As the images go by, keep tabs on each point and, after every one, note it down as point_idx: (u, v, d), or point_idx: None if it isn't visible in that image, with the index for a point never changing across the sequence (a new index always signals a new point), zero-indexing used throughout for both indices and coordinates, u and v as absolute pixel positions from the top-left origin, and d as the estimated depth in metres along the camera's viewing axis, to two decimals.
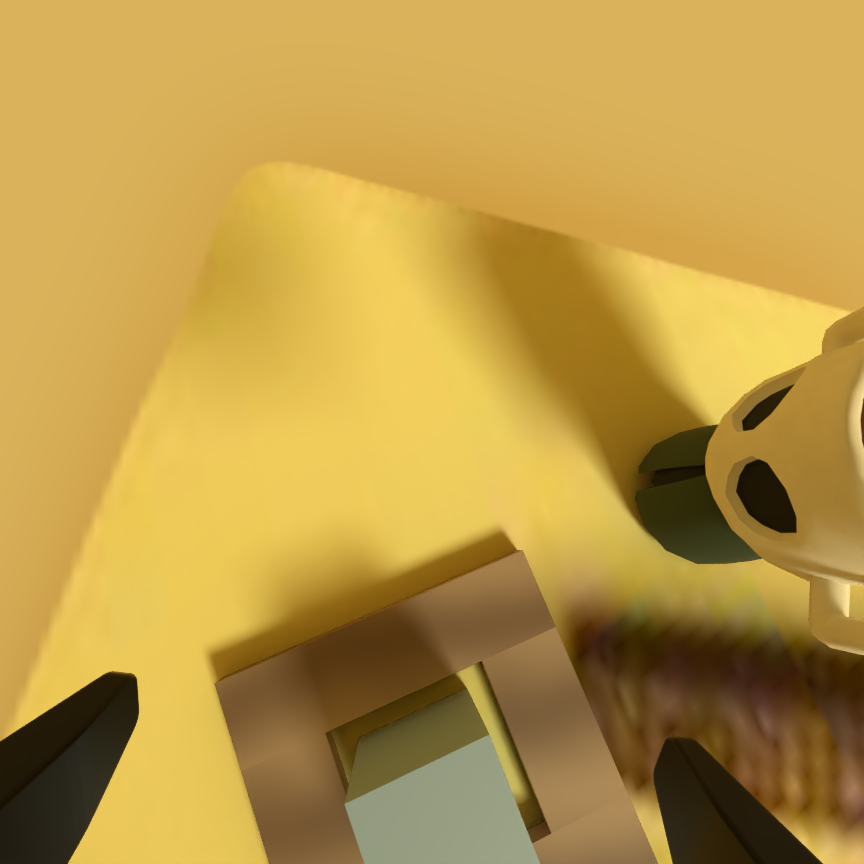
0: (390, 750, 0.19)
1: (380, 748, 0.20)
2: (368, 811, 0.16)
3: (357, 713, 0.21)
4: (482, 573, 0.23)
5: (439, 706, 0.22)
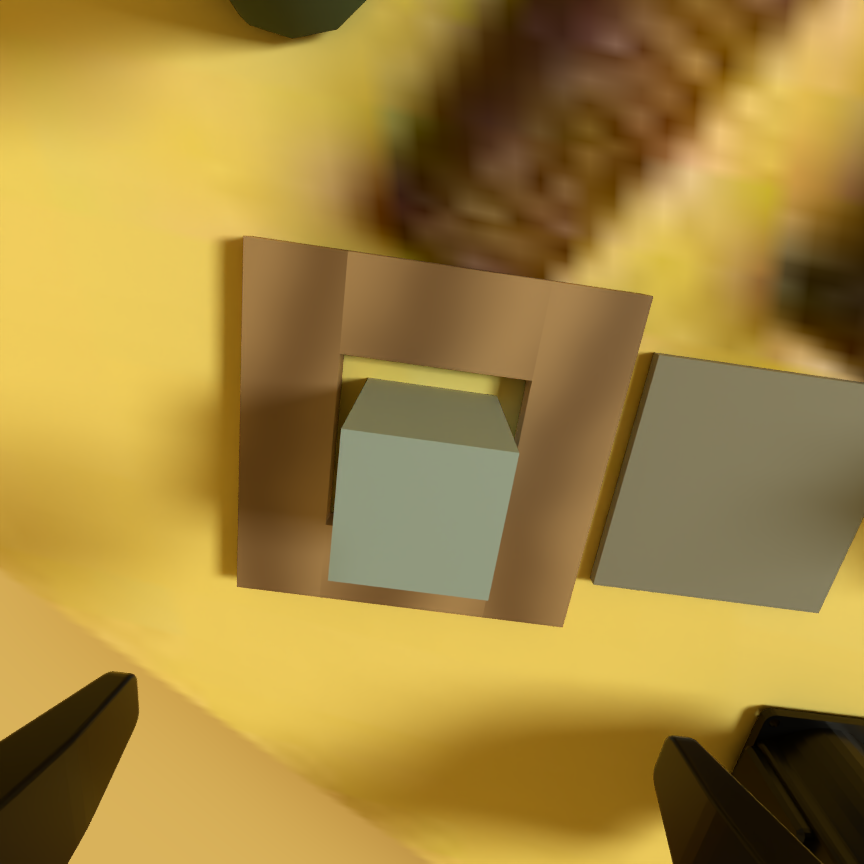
0: None
1: None
2: (345, 565, 0.16)
3: (324, 492, 0.20)
4: (248, 300, 0.18)
5: None
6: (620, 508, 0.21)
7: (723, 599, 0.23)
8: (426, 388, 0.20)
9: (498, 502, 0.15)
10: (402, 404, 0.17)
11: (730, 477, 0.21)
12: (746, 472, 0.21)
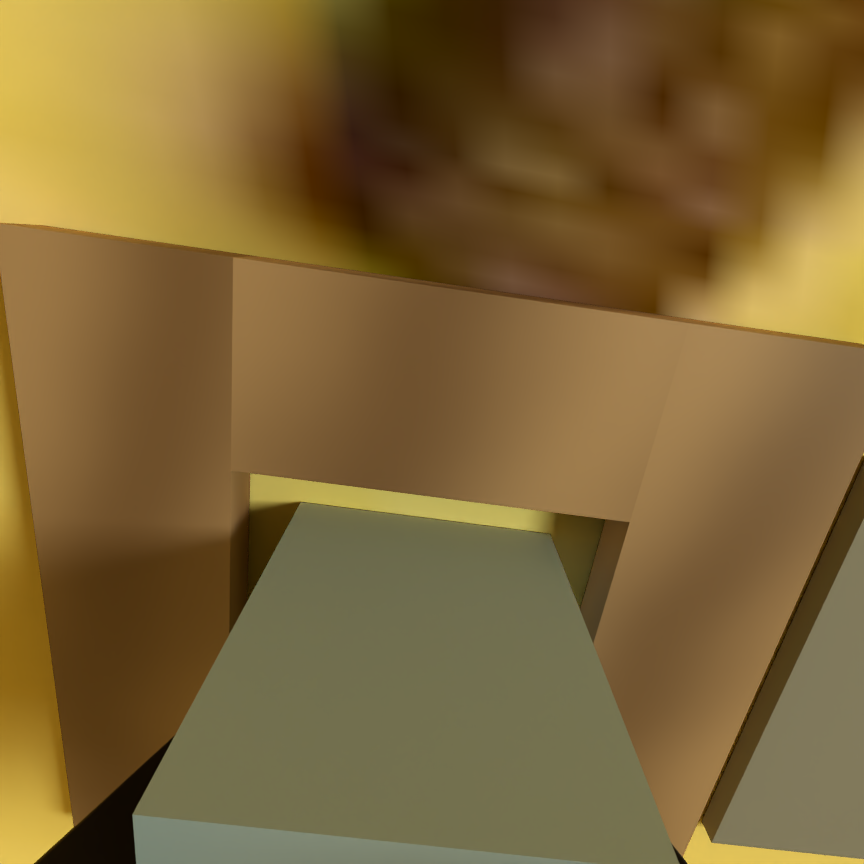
0: None
1: None
2: None
3: None
4: (25, 362, 0.08)
5: None
6: (774, 729, 0.11)
7: None
8: (413, 527, 0.10)
9: None
10: (354, 604, 0.08)
11: None
12: None
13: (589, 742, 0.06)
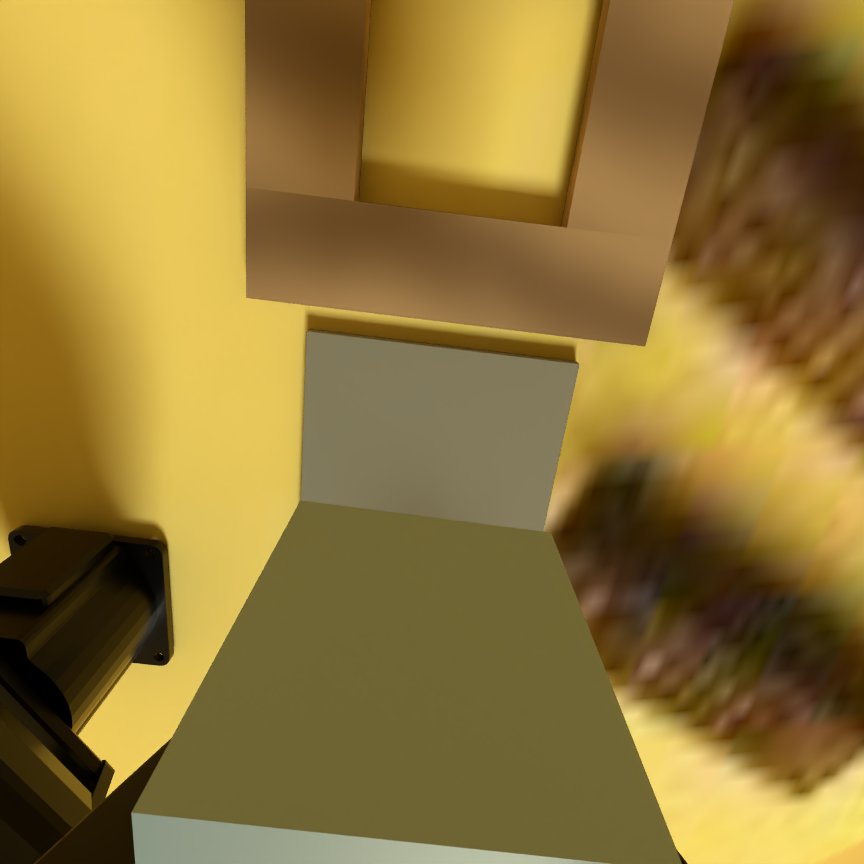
0: None
1: None
2: None
3: None
4: None
5: None
6: (407, 349, 0.19)
7: (303, 474, 0.21)
8: (413, 526, 0.10)
9: None
10: (355, 603, 0.08)
11: (447, 454, 0.20)
12: (453, 468, 0.21)
13: (590, 740, 0.06)
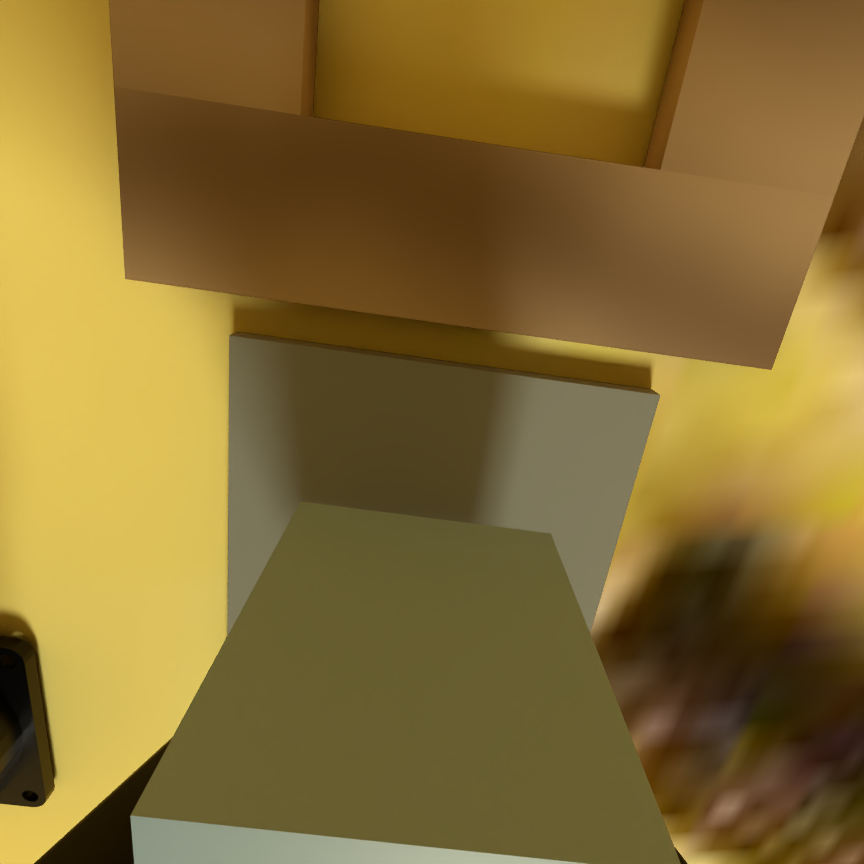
0: None
1: None
2: None
3: None
4: None
5: None
6: (390, 367, 0.12)
7: (230, 551, 0.14)
8: (413, 527, 0.10)
9: None
10: (355, 604, 0.08)
11: None
12: None
13: (590, 742, 0.06)
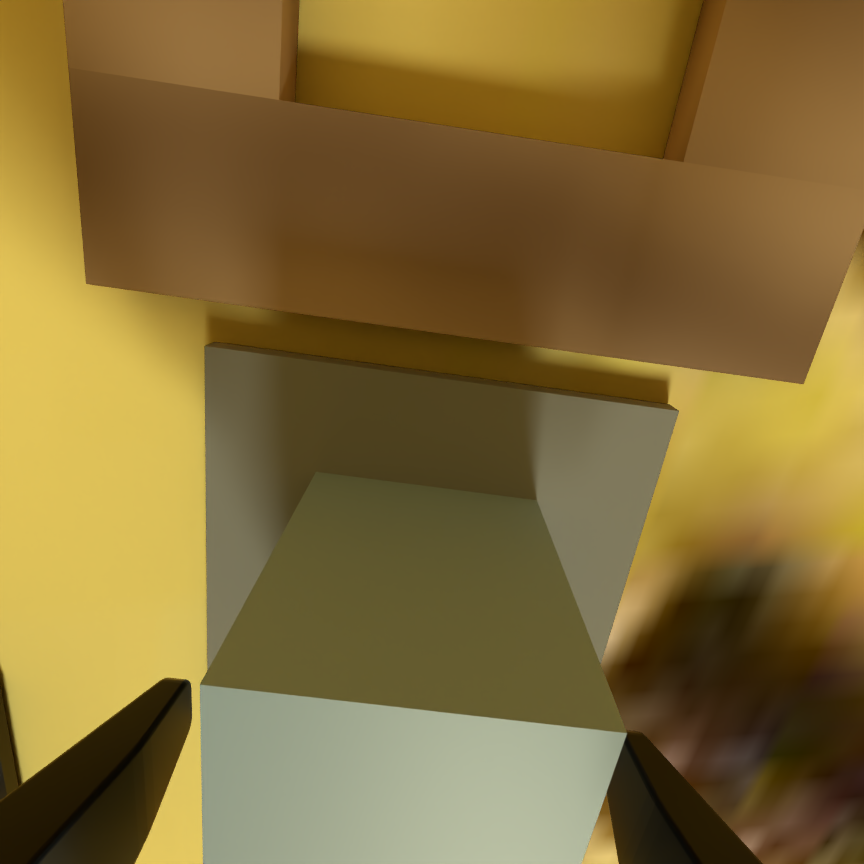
0: None
1: None
2: None
3: None
4: None
5: None
6: (382, 380, 0.11)
7: (209, 579, 0.13)
8: (415, 493, 0.11)
9: (571, 823, 0.07)
10: (366, 550, 0.09)
11: None
12: None
13: (560, 649, 0.07)
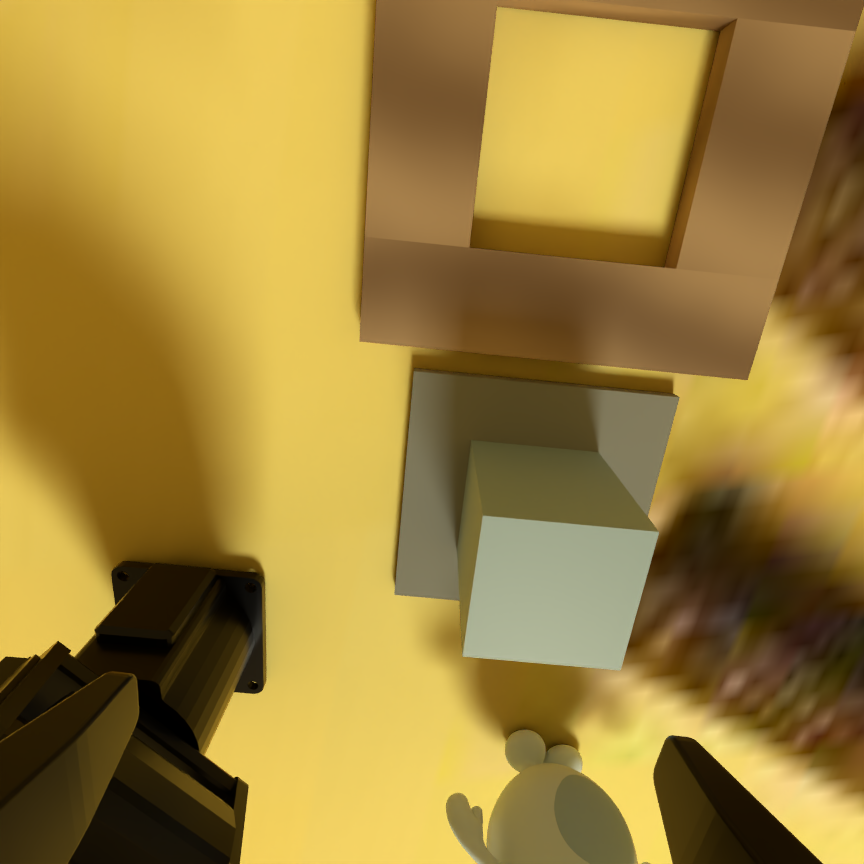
0: (464, 565, 0.18)
1: (461, 564, 0.19)
2: (480, 642, 0.16)
3: None
4: None
5: (468, 480, 0.20)
6: (511, 386, 0.20)
7: (403, 507, 0.21)
8: (530, 449, 0.20)
9: (635, 578, 0.15)
10: (520, 474, 0.18)
11: None
12: None
13: (625, 508, 0.16)
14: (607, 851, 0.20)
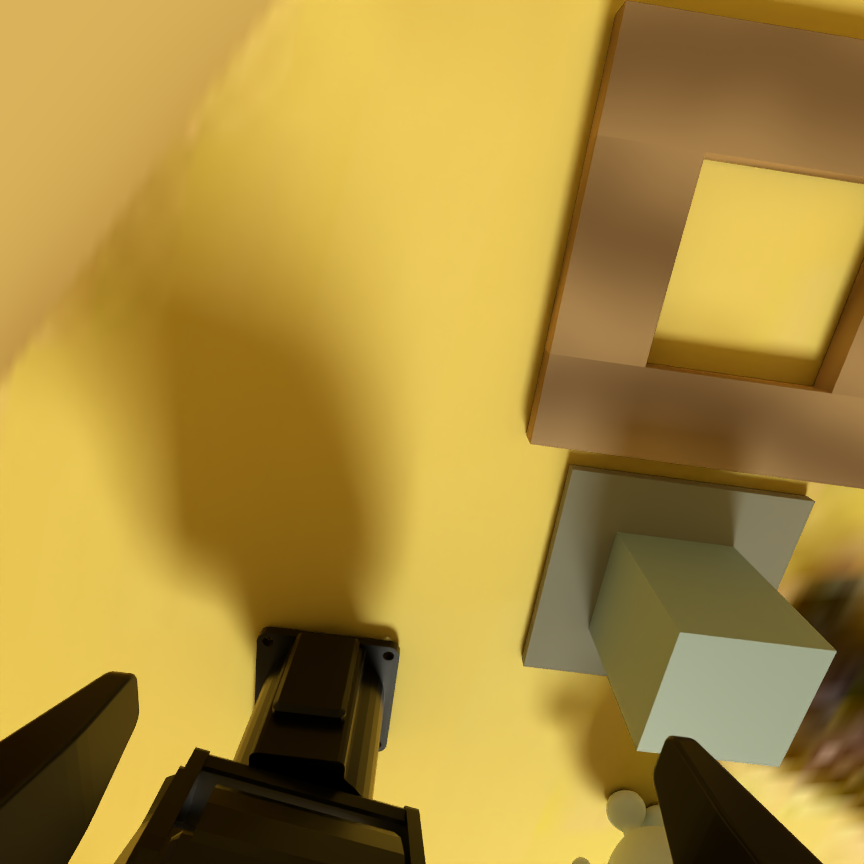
0: (620, 656, 0.20)
1: (612, 652, 0.21)
2: (656, 738, 0.17)
3: (751, 153, 0.17)
4: None
5: (615, 571, 0.21)
6: (661, 486, 0.21)
7: (544, 589, 0.23)
8: (674, 544, 0.21)
9: (807, 689, 0.17)
10: (682, 577, 0.19)
11: None
12: None
13: (794, 621, 0.17)
14: None
